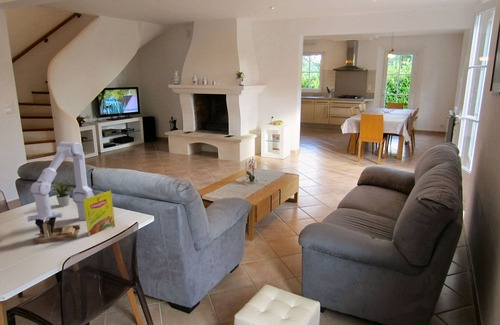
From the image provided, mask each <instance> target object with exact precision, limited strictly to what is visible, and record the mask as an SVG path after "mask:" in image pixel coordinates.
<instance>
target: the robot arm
mask: <svg viewBox="0 0 500 325" xmlns="http://www.w3.org/2000/svg"><path fill="white" fill-rule="evenodd" d="M68 158H71V159H72V161H73V170H74V180H75V187H74V188H73V190H72V201H73V202H74V203H75V205H76V207H77V213H78V219H79V220H81V221H86V215H85V209H84V201H83V200H84V199H87V198H90V197H93V196H95V194H94V193H93V188H91V187H90V186H89V185H88V179H87V178H88V177H87V170H86V169H87V168H86V158H85V152H84V150H83V145H82V144H81V143H79V142H78V141H73V142H71V141H62V140H61V141H60V142H59V144H58V146H57V147H56V153H55V154H54V156H53V158H52V161H51V162H50V164H49V166H48V167H46V168H44V169H42V172H41V174H40V175H39V177H38V178H37V180H36V181H35V182H33V183H32V185H31V186H30V189H29V191H30V192H29V193H31V194H32V195H33V198H34V202H35V207H36V213H37V214H35V215H28V217H27V222H33V221H35V222H34V224H35V225H36V226H37V227H38V228H39V231H40V230H41V232H42V234H44V230H43V223H44V222H45V220H46V219H49V221H48V222H49V225H50V230H51V233H53V232H54V228H55V223H56V219H57V218H59V219H61V218H63V216H64V214H63V212H52V208H51V207H52V206H51V201H50V195H49V193H50V192H51V188H52V183H53V181H54V179H55V178H56V176H57V174H58V172H57V170H58V168H59V167H60V166H61V164H62V163H63V162H64V160H65V159H68Z"/></svg>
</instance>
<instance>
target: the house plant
mask: <svg viewBox="0 0 500 325" xmlns="http://www.w3.org/2000/svg"><path fill="white" fill-rule="evenodd" d="M66 181H67V179H65V180H64V182H63V179H59V184H58V183H56V182H53V188H52V191H54V192H53V196H55V195H56V196H55V197H56V200H57V203H58V205H59V207H60V208H61V207H62V208H64V206H65V207H68V206H70V193H69V192H70V191H73V190H74V187H73V186H74V184H73V183H75V182H72V184H71V181H72V180H69V181H67V183H66ZM57 194H58V195H57Z"/></svg>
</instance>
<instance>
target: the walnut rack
mask: <svg viewBox="0 0 500 325" xmlns="http://www.w3.org/2000/svg"><path fill="white" fill-rule="evenodd" d="M71 226H73V228H75V232H74V234H71V235H63V236H61V234H62V230H63V228H65V227H71ZM80 229H81V225H80V224H73V225H66V226H65V225H64V226H57V227H55V226H54V232H53V233H51V235H50V237H47V238H45V236H44V234H42V232H41V230H40V229H39V235H38V236H37V238H34V239H33V240H32V243H33V245H38V244H43V243H45V244H46V243H52V242H53V243H54V242H62V241H68V240H75V239H77V237H78V235H79V232H80Z"/></svg>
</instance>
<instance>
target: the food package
mask: <svg viewBox="0 0 500 325" xmlns="http://www.w3.org/2000/svg"><path fill="white" fill-rule="evenodd" d="M83 201H84V209H85V215H86V220H85V222H86V228H87V234H88V235H87V236H88V237H91V236H93V235H95V234H98V233H100V232H102V231H104V230H106V229H108V228H115V227H116V221H115V214H114V213H115V212H114V207H113V206H114V205H113V198H112V190H111V189H110V190H107V191H105V192H101V193H99V194H96V195H95V194H94V196H93V197H90V198H87V199H84V200H83Z"/></svg>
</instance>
